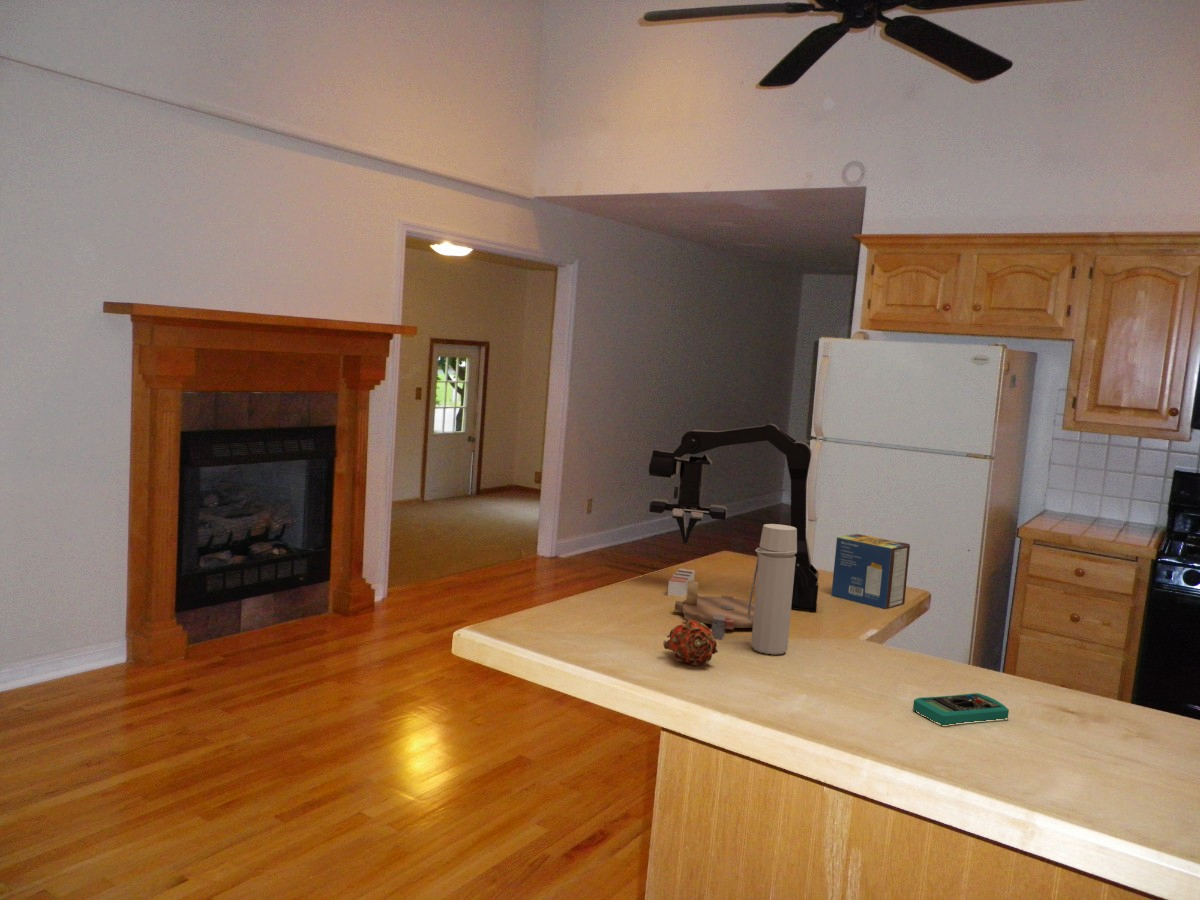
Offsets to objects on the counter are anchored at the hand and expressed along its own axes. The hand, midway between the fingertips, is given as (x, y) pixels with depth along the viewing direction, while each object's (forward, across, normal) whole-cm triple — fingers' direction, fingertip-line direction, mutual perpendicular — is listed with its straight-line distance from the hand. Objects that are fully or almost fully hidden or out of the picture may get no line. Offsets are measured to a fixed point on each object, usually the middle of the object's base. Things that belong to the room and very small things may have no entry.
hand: (685, 543), depth 223 cm
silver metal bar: (+12, 0, -2) cm, 13 cm away
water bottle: (+12, -20, +41) cm, 47 cm away
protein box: (+12, -47, -14) cm, 50 cm away
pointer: (+12, -11, +36) cm, 39 cm away
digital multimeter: (+12, -52, +65) cm, 85 cm away
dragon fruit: (+12, -6, +55) cm, 56 cm away
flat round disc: (+12, -12, +21) cm, 27 cm away
